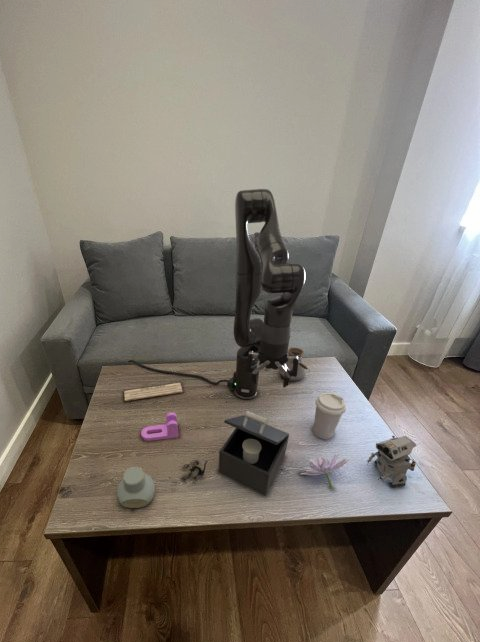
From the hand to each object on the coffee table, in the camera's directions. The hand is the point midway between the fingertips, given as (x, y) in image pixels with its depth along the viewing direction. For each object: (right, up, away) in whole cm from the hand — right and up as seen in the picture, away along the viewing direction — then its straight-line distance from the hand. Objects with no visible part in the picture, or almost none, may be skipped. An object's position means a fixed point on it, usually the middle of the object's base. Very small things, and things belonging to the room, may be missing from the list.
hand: (269, 384), depth 95 cm
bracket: (-35, -20, +19) cm, 44 cm away
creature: (-23, -29, +5) cm, 37 cm away
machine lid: (-4, -14, 0) cm, 14 cm away
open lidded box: (-4, -26, +7) cm, 28 cm away
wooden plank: (-39, -7, +38) cm, 55 cm away
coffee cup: (+23, -19, +18) cm, 35 cm away
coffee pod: (-5, -23, +2) cm, 23 cm away
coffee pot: (+21, -4, +41) cm, 46 cm away
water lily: (+17, -28, +3) cm, 33 cm away
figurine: (+35, -29, +3) cm, 45 cm away
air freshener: (-39, -33, -1) cm, 51 cm away
